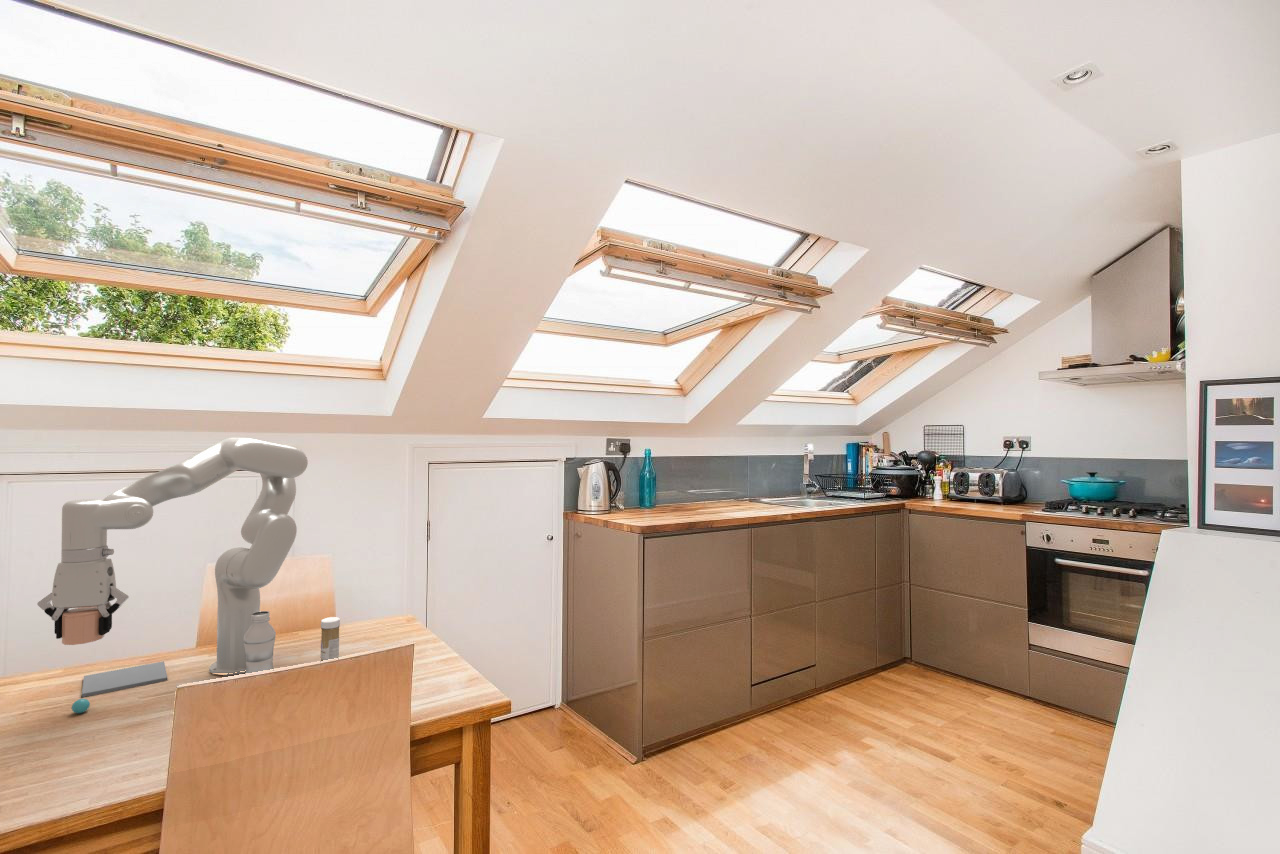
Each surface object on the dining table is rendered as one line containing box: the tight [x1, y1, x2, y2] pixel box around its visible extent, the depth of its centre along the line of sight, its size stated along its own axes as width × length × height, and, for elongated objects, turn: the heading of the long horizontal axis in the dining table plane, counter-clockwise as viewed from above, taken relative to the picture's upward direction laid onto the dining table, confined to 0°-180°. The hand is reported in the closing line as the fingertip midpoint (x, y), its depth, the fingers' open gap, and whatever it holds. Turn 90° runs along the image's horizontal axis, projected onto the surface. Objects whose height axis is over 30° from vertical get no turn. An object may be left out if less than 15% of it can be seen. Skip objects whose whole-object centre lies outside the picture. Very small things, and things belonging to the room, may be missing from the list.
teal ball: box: [71, 698, 91, 714], centre depth 137 cm, size 3×3×3 cm
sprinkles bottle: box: [320, 616, 341, 662], centre depth 163 cm, size 5×5×13 cm
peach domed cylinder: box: [61, 606, 105, 646], centre depth 137 cm, size 7×7×6 cm
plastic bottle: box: [244, 610, 277, 674], centre depth 146 cm, size 6×7×20 cm
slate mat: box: [81, 661, 168, 698], centre depth 155 cm, size 16×14×1 cm
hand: (83, 634), depth 137 cm, fingers closed on peach domed cylinder, 7 cm apart
